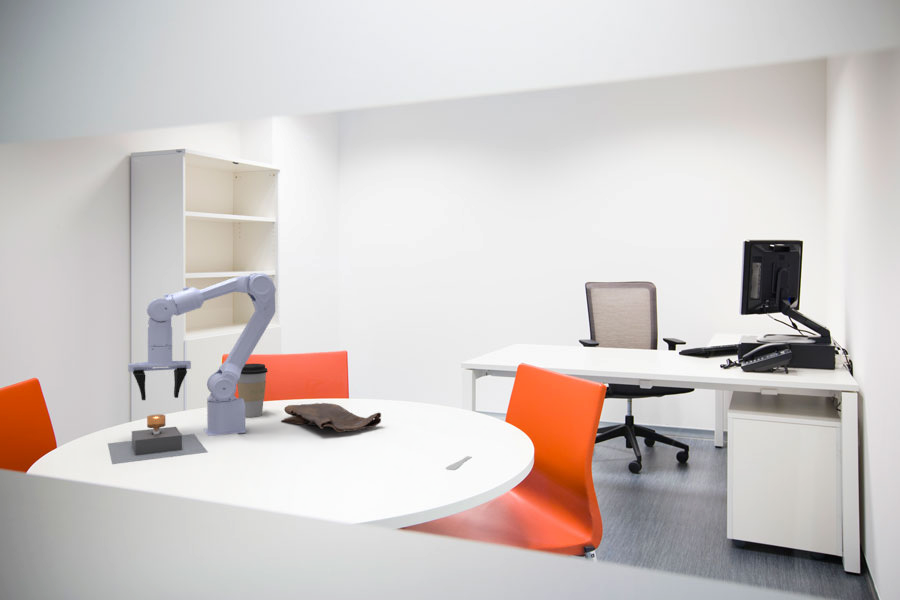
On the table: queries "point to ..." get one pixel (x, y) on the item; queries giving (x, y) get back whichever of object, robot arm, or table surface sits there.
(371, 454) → the table surface
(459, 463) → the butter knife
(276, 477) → the table surface
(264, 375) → the coffee cup
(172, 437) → the block
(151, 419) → the plunger
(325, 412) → the folded brown cloth
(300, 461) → the table surface
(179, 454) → the board
